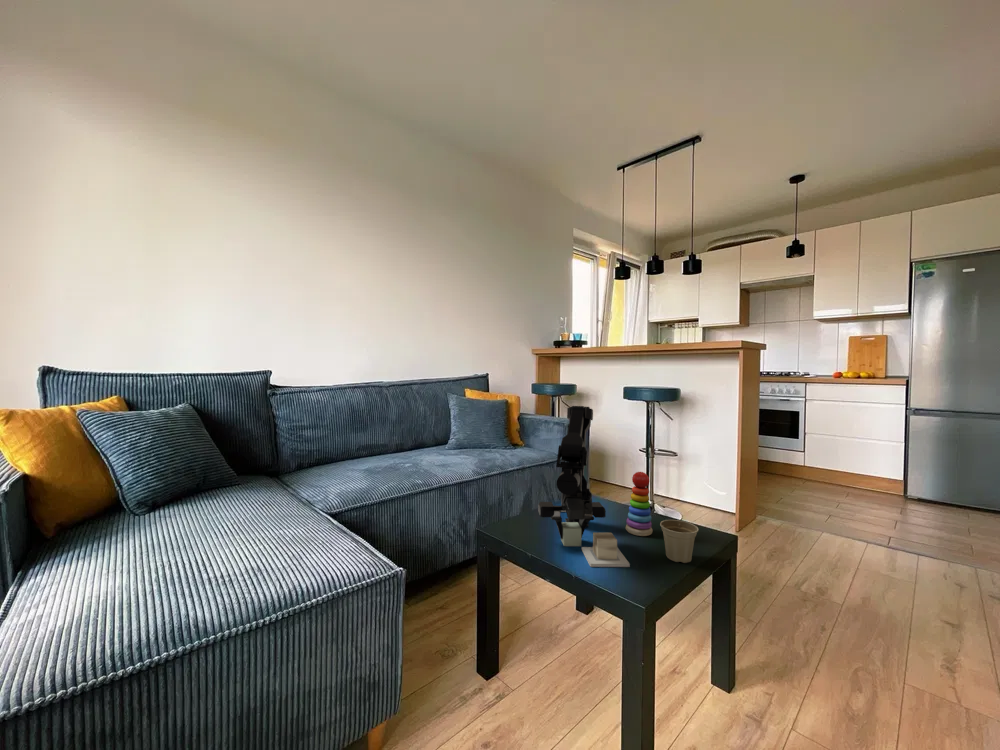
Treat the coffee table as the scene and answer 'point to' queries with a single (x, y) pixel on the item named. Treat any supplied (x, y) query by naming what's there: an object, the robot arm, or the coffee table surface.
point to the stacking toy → (639, 507)
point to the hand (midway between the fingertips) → (570, 538)
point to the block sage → (571, 534)
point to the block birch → (605, 546)
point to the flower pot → (679, 539)
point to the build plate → (596, 562)
